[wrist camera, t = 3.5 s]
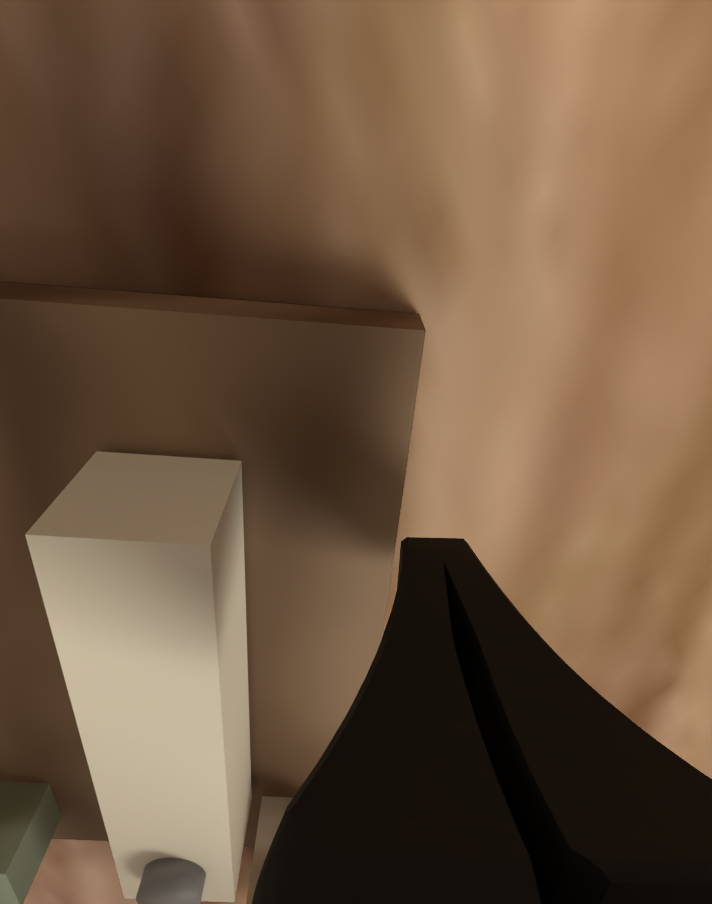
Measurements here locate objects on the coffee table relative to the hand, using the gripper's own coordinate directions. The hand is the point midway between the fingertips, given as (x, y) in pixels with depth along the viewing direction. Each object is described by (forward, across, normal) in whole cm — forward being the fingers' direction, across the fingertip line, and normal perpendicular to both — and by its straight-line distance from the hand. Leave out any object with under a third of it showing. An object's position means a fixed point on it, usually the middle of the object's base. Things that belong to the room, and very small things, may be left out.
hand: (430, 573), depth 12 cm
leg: (+1, +6, +4) cm, 7 cm away
